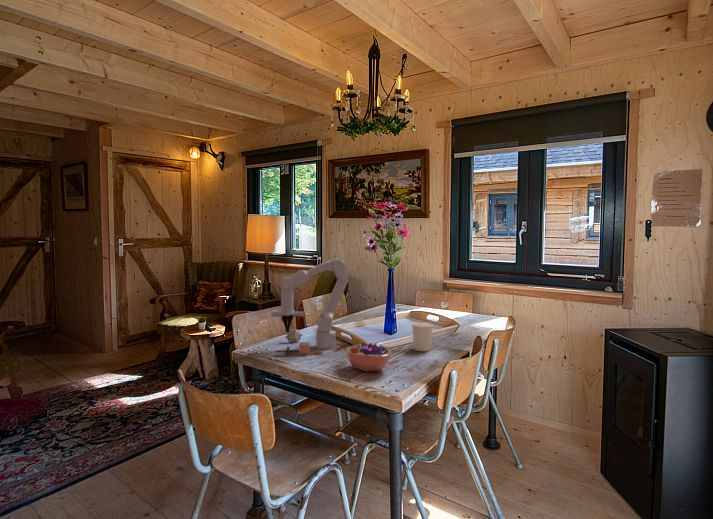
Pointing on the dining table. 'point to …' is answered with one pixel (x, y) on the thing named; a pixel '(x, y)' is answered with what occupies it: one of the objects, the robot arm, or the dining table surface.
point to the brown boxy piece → (298, 352)
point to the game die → (293, 335)
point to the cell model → (368, 356)
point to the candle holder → (422, 336)
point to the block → (304, 348)
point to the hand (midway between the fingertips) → (287, 331)
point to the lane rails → (288, 355)
